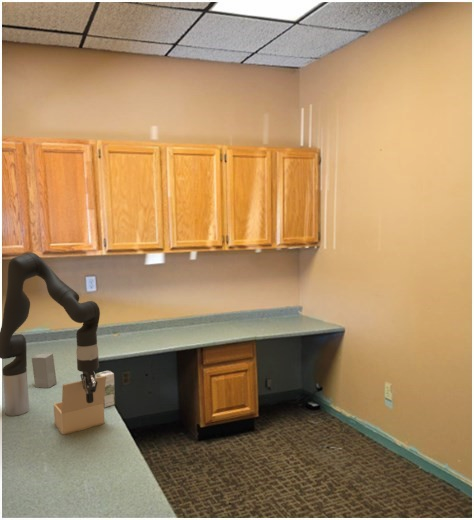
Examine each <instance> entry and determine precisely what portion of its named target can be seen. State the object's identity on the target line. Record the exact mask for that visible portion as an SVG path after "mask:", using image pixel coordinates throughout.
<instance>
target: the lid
mask: <svg viewBox="0 0 474 520" xmlns="http://www.w3.org/2000/svg"><path fill="white" fill-rule="evenodd" d="M95 381H97V387H96V391H95V392H93V402H92V403H87V402H86V392H85V389H83V384H82V380H79V381H73V382H69V383H64V384H62V394H61V395H62V396H61V402H62V414H64V413H68V412H72V411H76V410H80V409H84V408H88V407H92V406H96V405H101V404H104V396H105V384H106V376H101V377H96V378H95Z"/></svg>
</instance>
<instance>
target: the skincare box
mask: <svg viewBox="0 0 474 520" xmlns="http://www.w3.org/2000/svg"><path fill="white" fill-rule="evenodd" d="M31 363H32V364H31V366H32V372H33V379H34V387H35V388H39V387H40V389H42V388H43V389H45V388H46V389H49V388H51V387H53V386H55V385H57V374H56V367H55V366H56V365H55V359H54V353H38V354H36V355H33V356H32V357H31Z"/></svg>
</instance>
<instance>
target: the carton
mask: <svg viewBox="0 0 474 520" xmlns="http://www.w3.org/2000/svg"><path fill="white" fill-rule="evenodd" d="M53 417H54V424H55V426H56V428H57V429H58V430H59V432H60V433H61V434H62V435H69V434H72V433H75V432H79V431H83V430H86V429H90V428H93V427H98V426H100V425H101V426H102V425H105V423H106V422H105V420H106V419H105V408H104V404H101V405H96V406H92V407H88V408H84V409H80V410H76V411H72V412H68V413H64V414H62V401H61V402H60V401H59V402H55V403H53Z"/></svg>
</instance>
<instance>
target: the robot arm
mask: <svg viewBox="0 0 474 520" xmlns="http://www.w3.org/2000/svg"><path fill="white" fill-rule="evenodd" d="M36 276H37V277H39V278H41V279H43V280H44V281H43V282H45V284H46V290H47V293H48V295H49V296H50V298H52V299H53V301H55V303H57V304H58V305H60V306H61V307H62V308H63V310H64V311H65V312H66V314H67V316H68V317H69V318H70V319H71V320H72V321H74V322H75V323H78V324H82V325H81V327H80V328H78V330H77V331H76V334H75V335H76V336H75V337H76V366H77V371H78V372H82V373H81V374H80V378H81V380H80V381H82V384H83V389H85V392H86V402H87V403H92V402H93V392H95V391H96V387H97V381H95V378H96V373H95V371H96V370H98V369H99V368H100V362H99V347H98V337H97V336H98V335H97V332H98V328H99V322H100V317H101V309H100V307H99V305H98V303H97V302H95V301H93V300H89V301H85V302H84V301H83V302H79V301H80V295H79V294H78V292H76V291H75V290H74V288H71V287H70V286H69V285H67V284H66V283H65V282H64V281H63V280H62V279H61V278H59V276H58V275H57V274H56V273H55V272H54V270H52V269H51V267H50V266H49V265H48V263H46V261H45V260H43V258H42V257H41V256H40V255H38V254H36V253H34V252H28V253H25V254H21V255H17V256H15V257H12V258H11V259H10V260H9V262H8V265H7V285H6V286H7V287H6V294H5V295H6V296H5V302H4V306H3V307H4V308H3V314H2V321H1V326H0V359H1V360H7V359H13V358H14V359H13V360H12V361H11V362H9V363H8V364H6V365H4V366H3V368H2V381H3V382H2V383H3V395H4V410H5V411H4V412H5V413H4V414H5V415H6V416H9V417H13V416H14V417H16V416H20V415H24V414H26V413H28V412H29V411H30V398H29V386H28V385H29V384H28V369H27V366H28V365H27V363H28V362H27V361H28V360H27V358H28V357H27V350H28V349H27V340H26V337H25V335H24V334H22V333H20V334H18V333H16V334H15V332H16V331H18V329H19V328H21V326H22V325H23V324H24V323H25V322H26V321H27V319H28V317H29V314H30V309H31V301H30V298H29V297H28V295H27V294H26V293H25V292H24V284H25V281H26V280H28V279H31V278H33V277H36Z"/></svg>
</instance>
